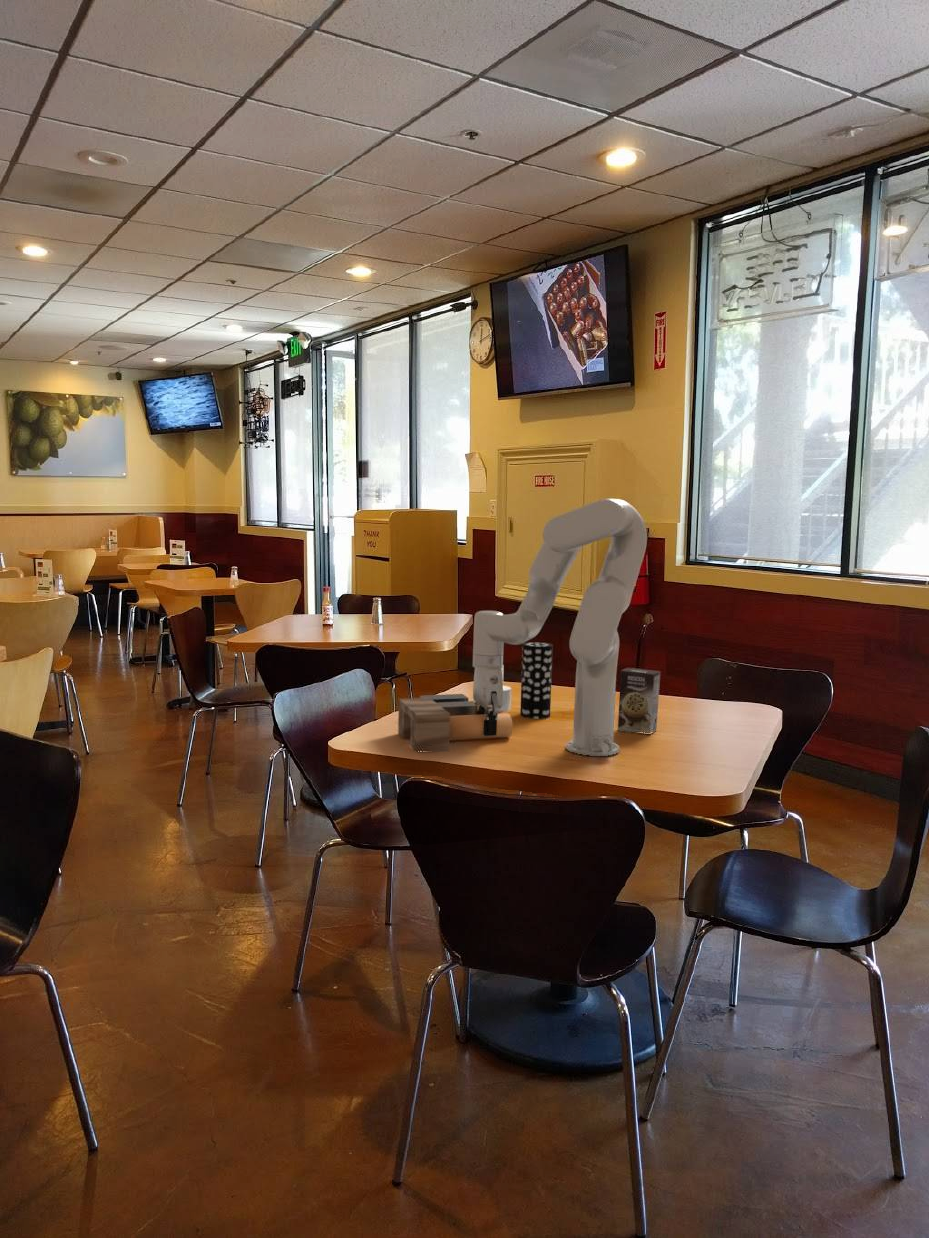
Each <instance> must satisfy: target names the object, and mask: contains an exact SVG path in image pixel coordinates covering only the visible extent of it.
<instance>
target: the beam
mask: <svg viewBox="0 0 929 1238" xmlns="http://www.w3.org/2000/svg"><path fill="white" fill-rule="evenodd" d="M397 722H398V727H397V728H398V730H397V731H398V733H397V734H398V736H400V737H401V738H402V740H409V742H410V743H409V745H410V746H411V747H412V748H411V747H410V748H411V749H412V750H413V751H414V752H415V751H416V752H418V751H419V752H418V753H424V752H423V751H435V752H447V751H450V741H449V723H450V713H449V712H447V711H446V710H445V709H443V708H442V707H441V706H440V705H438V704H437V703H436V702H435V701H433V700H432V699H431V698H420V697H411V698H398V721H397ZM420 751H422V752H420ZM416 752H415V753H416Z"/></svg>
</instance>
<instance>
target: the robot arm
mask: <svg viewBox="0 0 929 1238" xmlns="http://www.w3.org/2000/svg"><path fill="white" fill-rule="evenodd" d="M609 537H610V543H609V547H608V549H607V551H606V554H605V557H604V560H603V564H602V566H601V570H600V572H599V575H598V578H597V579H596V580H595V581H593V582H592V583H590V585H589V586H588V587H587V589H586V590H585V592H584V594H583V597H582V598H581V599H582V600H581V602H580V605H579V609H578V611H577V616H576V617H575V621H574V624H573V628H572V630H571V633H570V637H569V642H568V643H569V645H568V646H569V650H570V653H571V655H572V656H573V658H574V659H575V660H576V661H577V662H576V668H575V669H576V671H575V684H574V685H575V687H574V707H573V708H574V713H573V732H572V733H573V734H572V735H573V738H572V739H571V740H569V741H567V742H566V750H568V751H569V752H571V753H573V752H574V753H573V754H576V753H577V754H576V755H580V754H582V755H581V756H586V755H589V757H608V755H609V756H614V755H616V753H617V754H618V753H619V752H620V746H619V744H617V743H616V742H614V731H615V730H614V729H615V709H616V708H615V707H616V705H615V704H616V687H617V683H616V682H617V672H618V671H617V670H618V658H619V650H620V637H619V636H620V635H619V632H618V627H619V623H620V621H621V618H622V615H623V613H625V612H626V610H627V609H628V607H629V606H630V604H631V600H632V596H633V593H634V590H635V586H636V584H637V580H638V577H639V575H640V571H641V570H640V569H641V567H642V563H643V561H644V558H645V554H646V549H647V542H648V532H647V527H646V524H645V521H644V519H643V517H642V515H641V514H640V513H639V512H638V510H637V509H636V508H635V507H634V506H633V505H632V504H630V503H629V502H627V501H625V500H624V499H620V498H611V497H610V498H603V499H598V500H597V501H593V502H591V503H588V504H585V505H583V506H581V507H578V508H576V509H572V510H570V511H567V512H565V513H561V514H558V515H555V516H554V517H551V518H550V519H549V520H548V521H547V522H546V523H545V525H544V527H543V530H542V540H543V543H542V544H541V546H540V549H539V550H538V552H537V554H536V556H535V558H534V560H533V562H532V563H531V566H530V567H529V570H528V576H529V578H528V579H529V583H528V588H527V590H526V594H525V596H524V598H523V599H522V601H521V604H520V605H519V607H518V610H517V611H516V612H514V613H509V614H504V613H503V612H500V611H497V610H479V611H477V612H476V613H475V614H474V620H473V621H474V622H473V647H472V667H473V668H474V671H473V672H474V674H473V683H472V684H473V685H472V686H473V687H472V688H473V689H472V698H473V701H474V702H475V705H476V707H475V715H481V714H485V718H486V720H484V735H485V736H494V735H496V733H497V718H498V717H497V715H498V714H499V708H501V707H502V706H503V685H504V676H503V677H502V669H501V668H503V665H504V651H505V650H504V649H505V648H504V647H505V644H509V645H514V646H515V645H516V646H517V645H518V646H519V645H523V643H527V642H528V641H530V640H532V639H533V638H536V636H537V635H538V634H539V633H540V632H541V630H542V628H543V626H544V625H545V622H546V620H547V619H548V617H549V615H550V613H551V611H552V609H553V606H554V604H555V602H556V599H557V596H558V594H559V592H560V591H561V590H560V589H561V588H562V584H563V582H564V580H565V578H566V577H567V576H568V573H569V571H570V569H571V567H572V565H573V563H574V562H575V559H576V558H577V556H578V554H579V552H580V551H581V549H582V547H584V546H587V545H589V544H593V543H595V542H598V541H600V540H603V539H607V538H609ZM488 705H492V707H488ZM488 710H492V711H488ZM613 754H614V755H613Z"/></svg>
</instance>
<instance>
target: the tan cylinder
mask: <svg viewBox="0 0 929 1238" xmlns="http://www.w3.org/2000/svg"><path fill="white" fill-rule="evenodd" d="M497 717H498V718H497V733H496V735H494V736H485V735H484V720H486V718H485V714H481V715H459V716H450V723H449V742H450V741H464V740H467V741H468V740H481V739H499V738H510V737H511V736H512V735H513V727H514V726H513V719H512V715H511V714H510V713H508V712H507V713H506V712H503V713H498V715H497Z"/></svg>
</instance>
